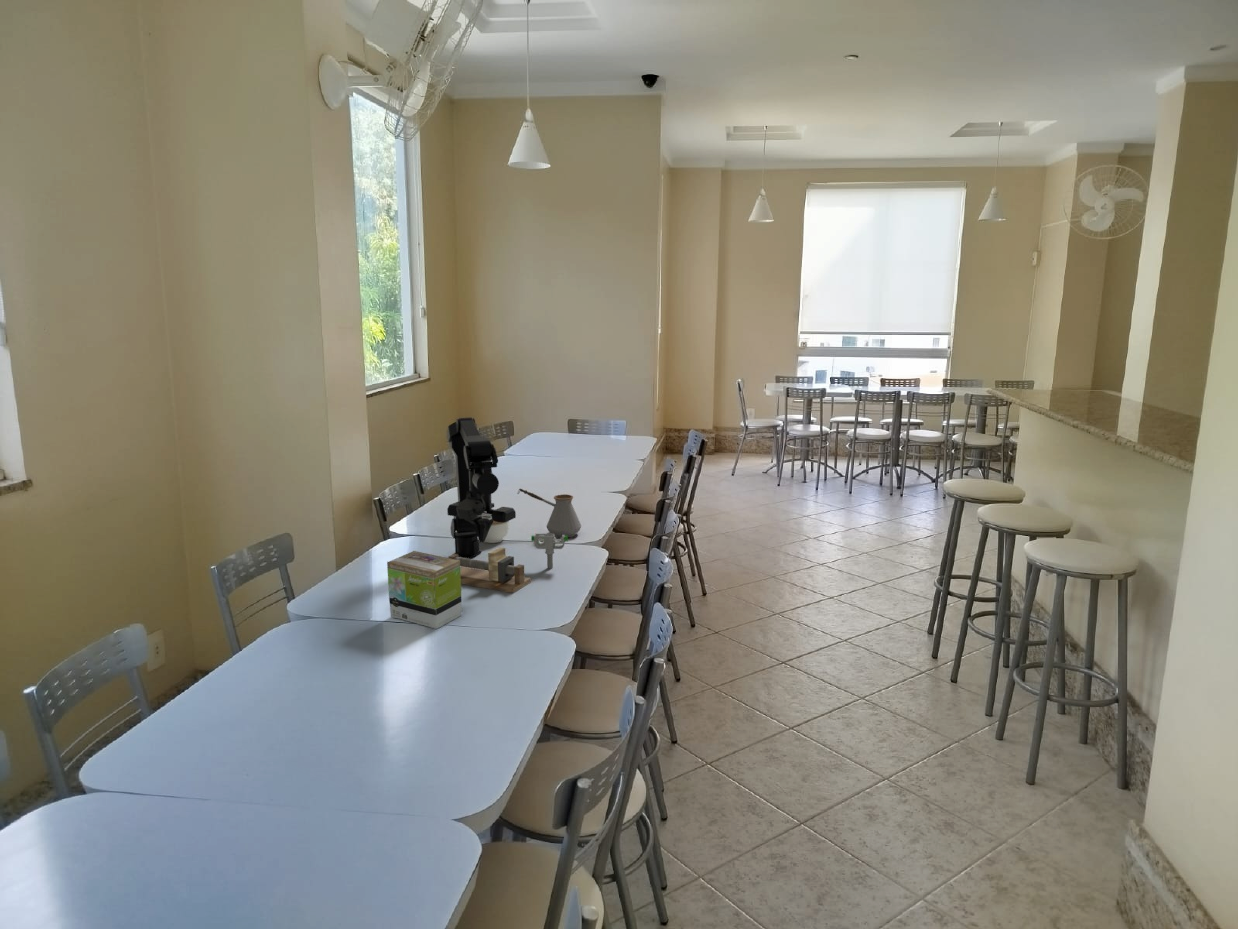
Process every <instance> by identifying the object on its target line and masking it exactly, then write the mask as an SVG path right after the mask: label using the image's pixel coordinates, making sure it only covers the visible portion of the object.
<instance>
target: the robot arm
mask: <svg viewBox="0 0 1238 929" xmlns="http://www.w3.org/2000/svg"><path fill="white" fill-rule="evenodd" d="M446 441H447V443H448V446H449V449H450V450H451V451H452V453H453V454H454V455H455V456H454V457H455V471H456V488H457V501H456V502H453V503H451V504H449V505H448V506H447V509H446V511H447V512H446V513H447V516H449V517H450V516H451V517H453V518H452V519H451V523H450V535H451V537H452V539H454V548H455V549H454V550H455V552H454V553H452V554H451V555H453V554H458V555H459V557H462V558H468V559H473V558H474V557H475V556H478V555H480V554H481V553H482V551H481V550H480V543H485V542H484V541H485V539H486V537H487V534H488V532H489V529H490V527H491V525H492V523H493V521H495V522H502V523H503V522H507V521H509V522H510V521H511V520H513V519H516V516H517V514H516V510H515V509H514V508H513V507H509V506H501V507H499V508H496V509H494V508H495V503H494V502H492V495H493V494H495V493H496V492H497V490H498V488H499V485H500V483H499V478H498V477H497V476H496V475H495V474H494V473H493V470H492V468H497V467H498V464H499V459H498V455H497V450H496V447H495V446H494V443H492V441H491V440H490V439H489V437H486V436H482V435H481V433H480V431H479V429H478V425H477V423H476V420H475V418H474V417H470V416H469V417H468V416H467V417H459V418H456V420H455V422H453V423H451V424H449V425H448V426H447V429H446Z"/></svg>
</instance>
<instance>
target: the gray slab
mask: <svg viewBox="0 0 1238 929" xmlns="http://www.w3.org/2000/svg"><path fill="white" fill-rule="evenodd" d="M507 556H508V557H506V558H504V559H502V560H500V561H499V562H498V582H502V583H504V582H505V581H507V580H509V579H510V578H512V577H514V575H511V574H505V566H506V565H511V566H515V557H514V556H510V555H507Z"/></svg>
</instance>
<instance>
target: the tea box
mask: <svg viewBox="0 0 1238 929" xmlns="http://www.w3.org/2000/svg"><path fill="white" fill-rule="evenodd" d="M386 563H387V564H386V566H387V580H388V581H387V582H388V583H387V584H388V597H389V598H388V600H389V616H390V617H391V618H395V619H400V620H404V621H407V622H410V623H415V624H418V625H420V626H421V625H422V626H424V627H427V628H432V629H434V630H437V629H440V628H441V627H443V626H445V625H446V624H448V623H450V622H452V621H454V620H455V619H457V618H459V617H461V616H462V615H463V610H462V608H463V607H462V584H461V574H460V567H461V566H460V560H455V559H450V558H449V557H444V556H440V555H435V554H432V553H427V552H422V551H421V552H420V551H418V550H417V551H416V550H412V551H410V552H407V553H406V554H404V555H401V556H399V557H396V558H395V559H392V560H389V561H387V562H386Z"/></svg>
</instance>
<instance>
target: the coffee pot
mask: <svg viewBox="0 0 1238 929" xmlns="http://www.w3.org/2000/svg"><path fill="white" fill-rule="evenodd" d="M520 492H521V493H522V492H523V493H524V494H526V495H528V496H529V497H531V498H534V499H536V500H538V501H541V502H543V503H545V504H547V505H549V506H552V507H553V510H552V511H551V514H550V517H549V518H548V521H547V524H546V528H547V531H548V532H549V534H554V535H555V538H559V539H561V538H562V535H565V536H567V538H572V537H574V536H576V534H578V533H579V531H580V530H581V528H582V524H581V522H580V520H579V517H578V514H577V513H576V511H575V508H574V506H573V504H572V501H573V499H574V496H573V495H571V494H558V495H554V496H553V499H554V501H555V503H554V502H552V501H549V500H547V499H545V498H543V497H541V496H539V495H537V494H535V493H533V492H529V491H527V489H526V490H525V489H523V488H519V489H518V491H517V495H519V494H520Z"/></svg>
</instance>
